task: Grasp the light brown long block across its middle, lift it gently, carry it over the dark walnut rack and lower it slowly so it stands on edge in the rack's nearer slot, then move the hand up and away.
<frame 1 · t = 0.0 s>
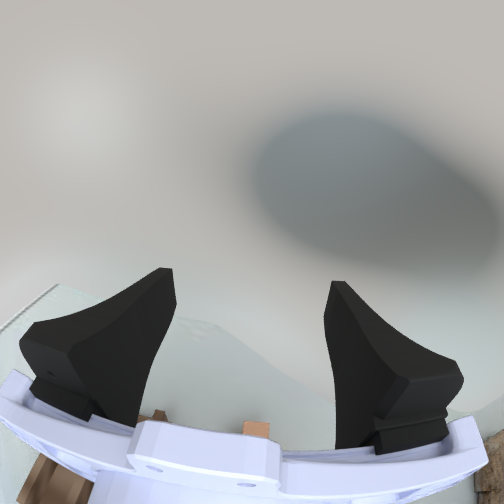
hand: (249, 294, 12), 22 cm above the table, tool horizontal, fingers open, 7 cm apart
light brown long block: (250, 485, 20), on the table
walnut rack: (100, 474, 18), on the table
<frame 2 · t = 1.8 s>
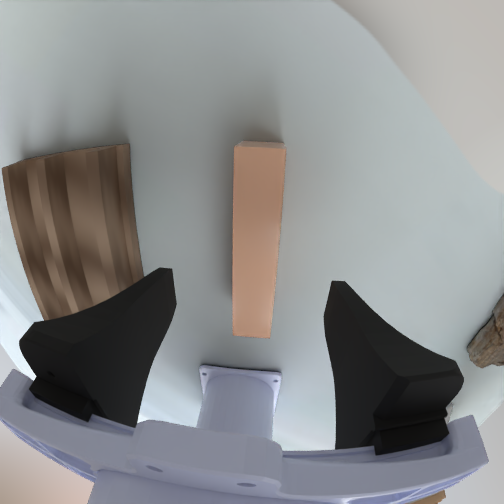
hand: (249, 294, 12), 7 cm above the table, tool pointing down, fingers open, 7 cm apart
desk lamp: (405, 429, 32), on the table
light brown long block: (259, 230, 19), on the table
walnut rack: (83, 255, 21), on the table
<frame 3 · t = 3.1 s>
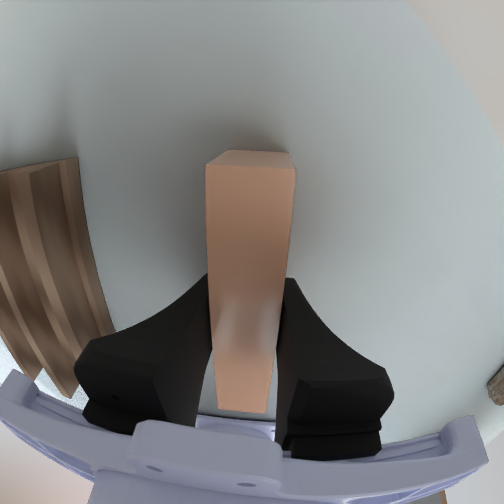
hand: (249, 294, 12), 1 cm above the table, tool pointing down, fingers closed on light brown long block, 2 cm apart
desk lamp: (412, 458, 27), on the table
light brown long block: (252, 276, 14), on the table, touching gripper
walnut rack: (43, 291, 16), on the table
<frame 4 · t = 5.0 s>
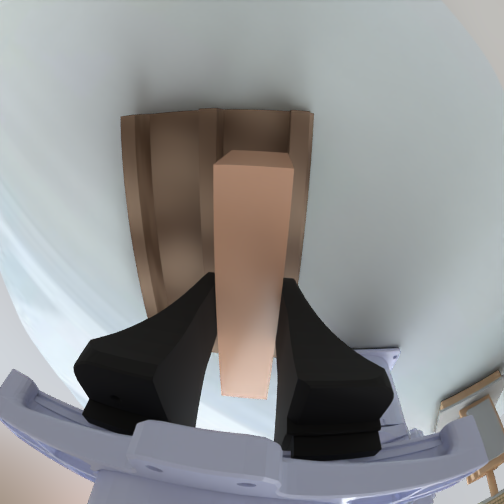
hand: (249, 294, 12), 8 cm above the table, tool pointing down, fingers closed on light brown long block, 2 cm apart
desk lamp: (465, 403, 31), on the table
light brown long block: (254, 268, 15), point 6 cm above the table, touching gripper
walnut rack: (219, 235, 21), on the table
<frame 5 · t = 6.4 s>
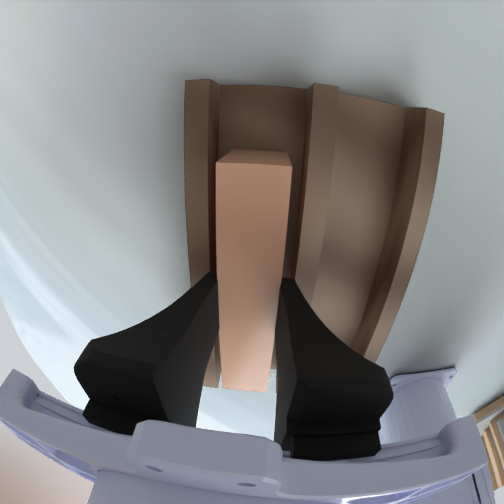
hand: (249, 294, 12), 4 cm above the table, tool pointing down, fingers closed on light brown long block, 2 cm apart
desk lamp: (492, 412, 27), on the table
light brown long block: (254, 263, 15), point 1 cm above the table, touching gripper
walnut rack: (299, 255, 16), on the table
when the fingers open (4 cm above the table, at t = 6.7 s): light brown long block stays where it is, resting on walnut rack.
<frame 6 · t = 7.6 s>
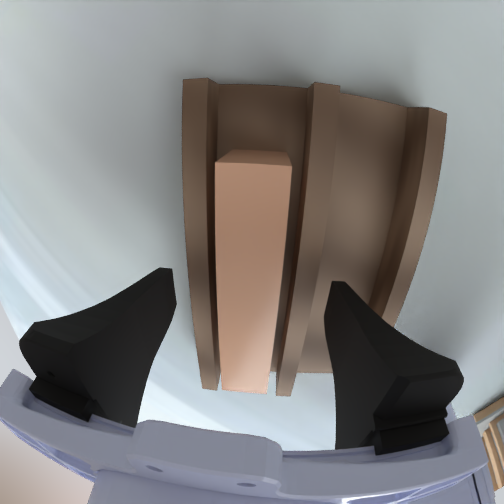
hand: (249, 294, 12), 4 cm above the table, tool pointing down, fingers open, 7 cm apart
desk lamp: (492, 413, 27), on the table
light brown long block: (254, 264, 15), point 1 cm above the table, touching walnut rack
walnut rack: (300, 256, 16), on the table
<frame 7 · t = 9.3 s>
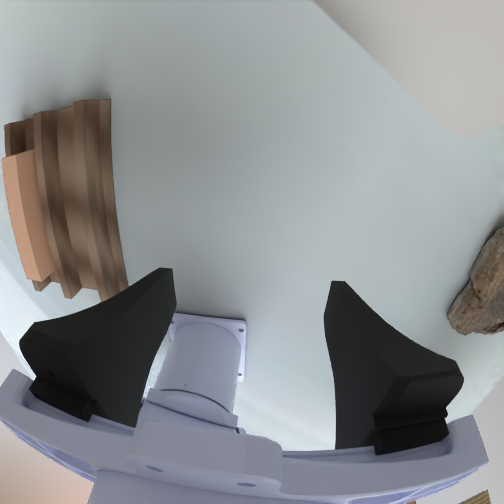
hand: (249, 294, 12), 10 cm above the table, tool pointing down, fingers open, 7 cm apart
light brown long block: (44, 207, 21), point 1 cm above the table, touching walnut rack
walnut rack: (66, 202, 22), on the table
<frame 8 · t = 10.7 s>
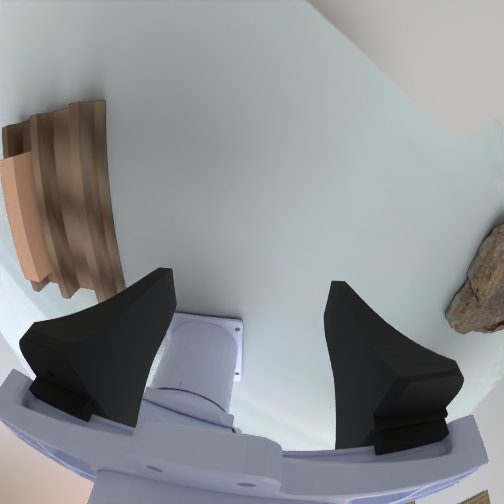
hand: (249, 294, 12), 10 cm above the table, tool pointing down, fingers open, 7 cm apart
light brown long block: (42, 208, 22), point 1 cm above the table, touching walnut rack
walnut rack: (63, 203, 22), on the table
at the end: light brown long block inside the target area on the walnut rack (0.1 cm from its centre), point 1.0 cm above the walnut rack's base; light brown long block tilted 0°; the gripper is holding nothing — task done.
